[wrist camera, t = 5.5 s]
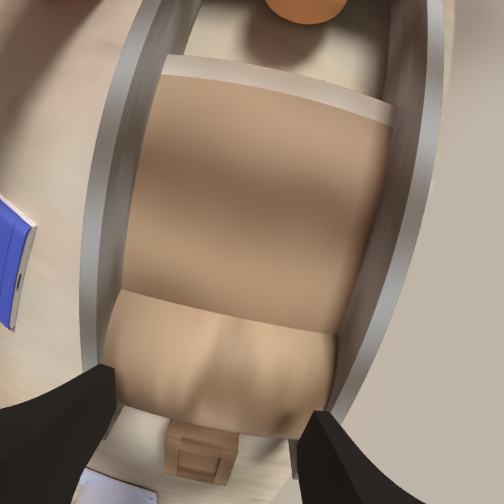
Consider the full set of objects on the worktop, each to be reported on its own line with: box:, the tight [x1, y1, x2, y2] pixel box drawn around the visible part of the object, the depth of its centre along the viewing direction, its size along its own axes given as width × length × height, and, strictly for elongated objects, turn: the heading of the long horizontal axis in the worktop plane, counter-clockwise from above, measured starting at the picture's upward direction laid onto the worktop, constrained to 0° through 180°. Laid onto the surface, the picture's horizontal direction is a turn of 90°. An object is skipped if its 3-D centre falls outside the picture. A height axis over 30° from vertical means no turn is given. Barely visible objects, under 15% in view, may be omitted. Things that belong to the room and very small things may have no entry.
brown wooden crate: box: [164, 419, 239, 486], centre depth 16 cm, size 4×4×3 cm
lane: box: [79, 0, 444, 480], centre depth 13 cm, size 28×12×10 cm, turn 167°
